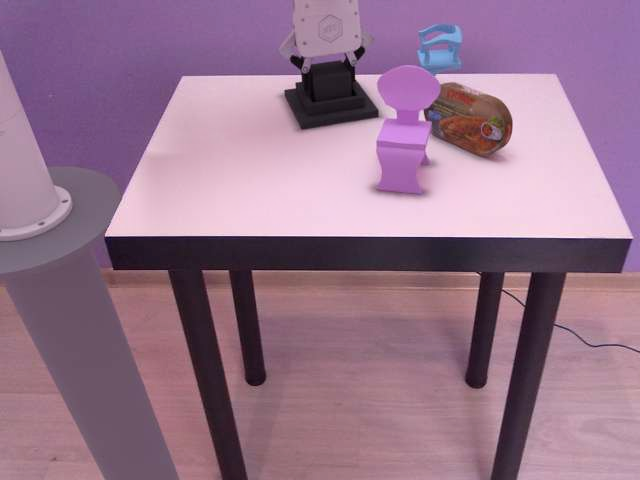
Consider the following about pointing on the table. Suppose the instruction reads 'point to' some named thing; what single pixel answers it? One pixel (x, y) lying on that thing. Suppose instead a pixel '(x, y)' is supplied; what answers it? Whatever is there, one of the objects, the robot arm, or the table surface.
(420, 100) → the toy chair
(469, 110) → the tin
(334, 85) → the black square block
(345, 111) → the base pad
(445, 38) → the chair
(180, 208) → the table surface
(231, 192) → the table surface
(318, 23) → the robot arm
